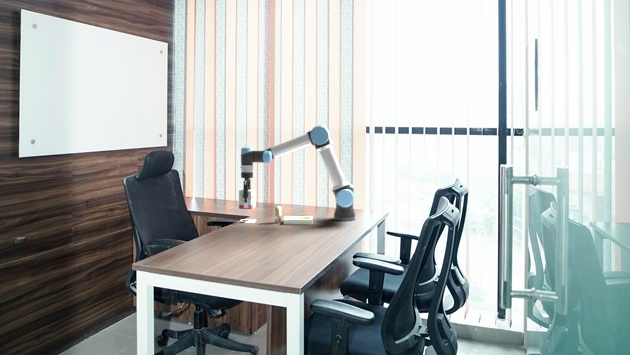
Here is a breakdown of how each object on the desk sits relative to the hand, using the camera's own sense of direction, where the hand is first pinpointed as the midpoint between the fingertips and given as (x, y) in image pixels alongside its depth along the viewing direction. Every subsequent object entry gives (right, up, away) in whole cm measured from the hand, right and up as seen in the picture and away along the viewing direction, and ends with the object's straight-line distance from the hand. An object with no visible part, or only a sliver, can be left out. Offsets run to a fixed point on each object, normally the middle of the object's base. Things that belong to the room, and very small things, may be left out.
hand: (247, 206), depth 312 cm
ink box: (0, -1, 0) cm, 1 cm away
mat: (0, -10, +1) cm, 10 cm away
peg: (+20, -10, -2) cm, 23 cm away
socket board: (+33, -10, -3) cm, 35 cm away
